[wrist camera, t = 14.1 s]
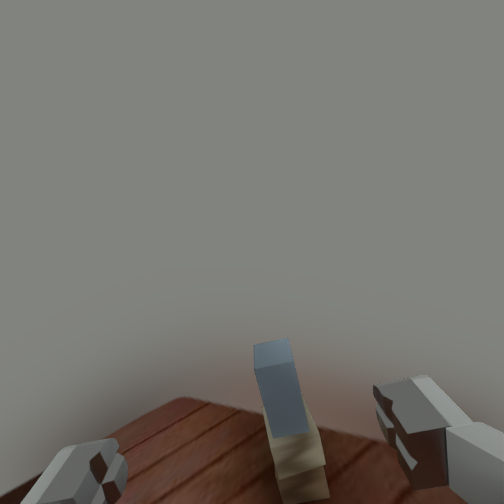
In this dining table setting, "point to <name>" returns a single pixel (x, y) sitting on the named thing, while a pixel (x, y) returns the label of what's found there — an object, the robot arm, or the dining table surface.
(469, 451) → the robot arm
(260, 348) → the pillar
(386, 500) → the dining table surface
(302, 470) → the tower top
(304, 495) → the tower base
